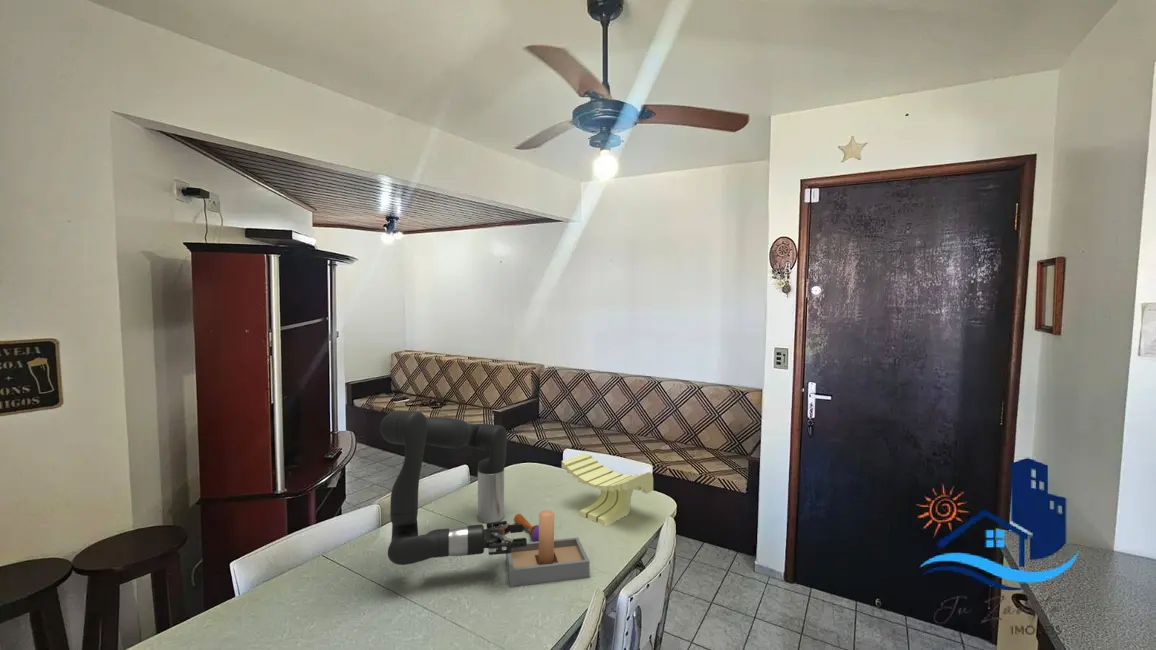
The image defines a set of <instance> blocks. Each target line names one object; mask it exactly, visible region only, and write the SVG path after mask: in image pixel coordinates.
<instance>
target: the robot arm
mask: <svg viewBox="0 0 1156 650" xmlns="http://www.w3.org/2000/svg"><path fill="white" fill-rule="evenodd" d="M379 432H380V434H381V436H382V437H381V438H383V439H384V440H385V441H386V442H388V443H390V444H393V445H399V446H400V445H402V446H404V460H403V464H402V467H401V469H400V472H399V474H397V475H398V476H397V477H396V479H395V481H394V483H393V486H392V488H391V494H390V508H389V509H390V513H389V514H390V515H389V516H390V522H391V524H392V525H391V540H390V543H389V545H388V548H387V557H388V559H389V561H390V562H392V563H393V564H395V565H397V566H398V565H399V566H402V565H403V566H405V565H406V566H407V565H411V564H416V563H419V562H424V561H426V560H429V559H433V558H444V557H446V558H447V557H463V556H464V557H465V556H473V555H482V554H484V553H485V549H488V555H489V556H493V555H494V556H495V555H506V554H509V553H511V550H512V549H513V548H517V547H525V546H527V542H528V541H527V540H528V539H527V537H518V538H517V537H516V538H510V537H509V538H508V537H507V535H508V534H509V533H510V534H515V533H523V531H524V527H523V524H516V523H515V524H510V523H508V521H507V520H504V517H505V466H506V465H505V464H506V460H507V446H508V445H507V444H508V433H507V429H506V428H505V427H504V426H503V425H499V424H490V423H468V422H467V421H465V420H462V419H459V418H453V417H443V416H440V417H439V416H438V417H437V416H434V417H431V416H430V417H426V415H425V414H424V413H423V412H421V411H419V410H418V411H417V410H395V411H394V410H393V411H392V412H390V413H388V414H386V415H385V416H384V417H383V418H382V420H381V422H380V425H379ZM426 445H427V446H433V447H436V448H437V447H438V448H444V449H461V448H463V447H465V446H466V447H470V448H474V449H478V450H480V451H487V452H489V457H487V458H483V459H481V460H479V461H478V463H477V520H478V521H479V522H481V523H485V524H486V526H485V527H486V528H485V529H484V525H483V524H472V525H471V524H470V525H460V526H454V527H450V528H439V529H433V530H430V531H428V532H427V533H426V534H420V535H419V527H418V514H419V513H418V512H419V485H420V477H421V472H422V465H423V460H424V453H425V449H426V448H425V447H426ZM506 549H507V550H506Z"/></svg>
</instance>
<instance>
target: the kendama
mask: <svg viewBox="0 0 1156 650" xmlns="http://www.w3.org/2000/svg"><path fill="white" fill-rule="evenodd" d="M513 522H514V523H515V524H523V528H525V529H527V530H529V531H530V537H531V540H532V542H537V541H539V524H536V525H531V523H530V522H529V521H528V520H527V519H526V517H524V516H523V515H522V514H521V513H517V514H516V515H515V516H514V517H513Z"/></svg>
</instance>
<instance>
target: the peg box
mask: <svg viewBox="0 0 1156 650" xmlns="http://www.w3.org/2000/svg"><path fill="white" fill-rule="evenodd" d="M505 550H507V549H505ZM538 558H539V541H537V542H533V541H527V546H525V547H517V548H513V549H512V550H511V553H509V554H505V560H506V561H505V562H506V563H505V564H506V567H507V568H506V569H507V575H508V581H509V587H510V588H513V587H517V586H518V587H519V586H528V585H536V584H543V583H552V582H561V581H569V580H576V579H585V578H590V559H589V557H588V555H587V553H586V551H585V549H584V547H583V545H582V542H581V541H580V538H579V537H569V538H557V539H554V562H555V563H553V564H545V565H538Z"/></svg>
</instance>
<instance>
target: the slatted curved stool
mask: <svg viewBox="0 0 1156 650" xmlns="http://www.w3.org/2000/svg"><path fill="white" fill-rule="evenodd" d="M561 469H563V470H566V473H567V474H570V475H571V474H572V478H574V479H577V482H578V483H581V484H584V485H587V486H590V487H593V488H595V489H598V490H600V495H599V497H598V499H597V500H595V501H593V503H590V505H588V506H586V507H585V508H582V509H581V510H579V512H578V514H577V515H578V516H580V517H583V518H584V517H585V518H584V519H587V520H589V519H590V520H589V521H592V520H593V521H592V522H594V521H595V523H598V524H599V523H600V524H599V525H601V524H602V525H601V526H605V527H607V525H608V526H610V525H612V524H613V523H615V522H617V521H619V520H621V519H623V518H624V516H625V517H626V516H628V515H629V514H630V511H631V501H632V500H631V499H632V496H633V492H634V490H636V491H641V492H642V493H644V494H645V495H647V494H649V493H652V492H653V491H654V475H653V473H652V472H650V471H647V472H645V473H643V472H642V473H640V474H634V475H633V474H625V473H624V474H623V473H621V472H618V471H614V470H612V469H610V468H609V467H606V466H605V465H604V464H602V463H600V462H599V461H598V460H597V459H595V458H593V456H592V455H591V454H589V453H585V452H583V453H581V454H579V455H575V456H572V457H570V458H565V459H564V460H561ZM586 517H587V518H586ZM622 517H623V518H622ZM620 518H621V519H620ZM616 520H617V521H616ZM596 521H597V522H596ZM611 523H612V524H611ZM609 524H610V525H609Z"/></svg>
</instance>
